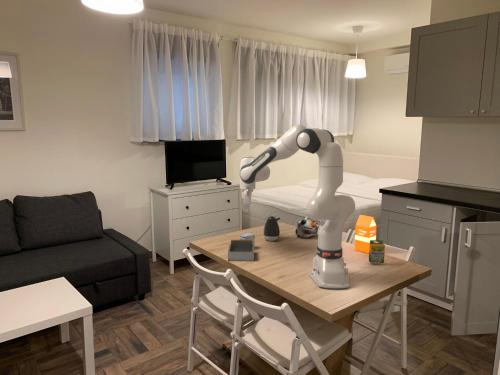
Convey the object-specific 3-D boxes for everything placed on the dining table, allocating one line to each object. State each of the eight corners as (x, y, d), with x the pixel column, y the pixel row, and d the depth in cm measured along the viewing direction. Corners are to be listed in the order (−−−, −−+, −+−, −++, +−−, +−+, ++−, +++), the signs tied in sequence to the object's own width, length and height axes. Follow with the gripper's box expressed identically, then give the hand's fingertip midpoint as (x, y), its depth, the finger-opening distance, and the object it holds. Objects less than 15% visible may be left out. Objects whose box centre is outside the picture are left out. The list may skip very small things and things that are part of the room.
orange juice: (367, 252, 214) (369, 218, 211) (354, 249, 220) (355, 215, 217) (375, 250, 219) (377, 216, 216) (361, 246, 225) (363, 213, 222)
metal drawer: (253, 261, 200) (253, 247, 199) (227, 260, 200) (227, 247, 199) (253, 252, 213) (253, 239, 212) (229, 252, 213) (229, 239, 212)
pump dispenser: (280, 242, 233) (280, 218, 230) (263, 242, 233) (263, 218, 231) (279, 237, 243) (279, 214, 241) (263, 237, 243) (263, 214, 241)
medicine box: (249, 247, 224) (249, 232, 222) (254, 248, 220) (254, 234, 219) (239, 249, 218) (239, 235, 217) (244, 251, 215) (245, 236, 214)
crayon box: (370, 263, 197) (371, 241, 196) (368, 261, 200) (369, 239, 198) (384, 263, 197) (385, 241, 195) (382, 261, 200) (383, 240, 198)
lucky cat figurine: (319, 233, 249) (320, 214, 244) (317, 243, 239) (319, 223, 233) (296, 231, 253) (297, 212, 247) (293, 240, 242) (295, 220, 236)
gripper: (253, 188, 203) (252, 213, 205) (253, 182, 223) (253, 205, 226) (241, 188, 203) (241, 213, 206) (242, 182, 224) (242, 205, 226)
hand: (247, 209), depth 216 cm, fingers open, 8 cm apart
